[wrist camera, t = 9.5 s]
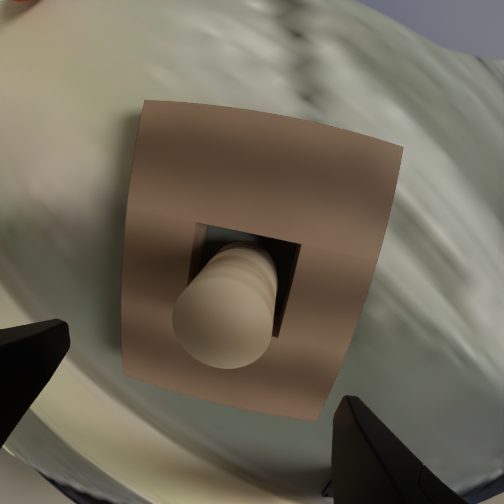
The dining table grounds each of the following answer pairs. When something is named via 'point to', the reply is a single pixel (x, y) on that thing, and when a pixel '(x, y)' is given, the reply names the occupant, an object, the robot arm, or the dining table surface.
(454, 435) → the dining table surface
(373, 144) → the board
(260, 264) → the peg
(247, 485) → the dining table surface
